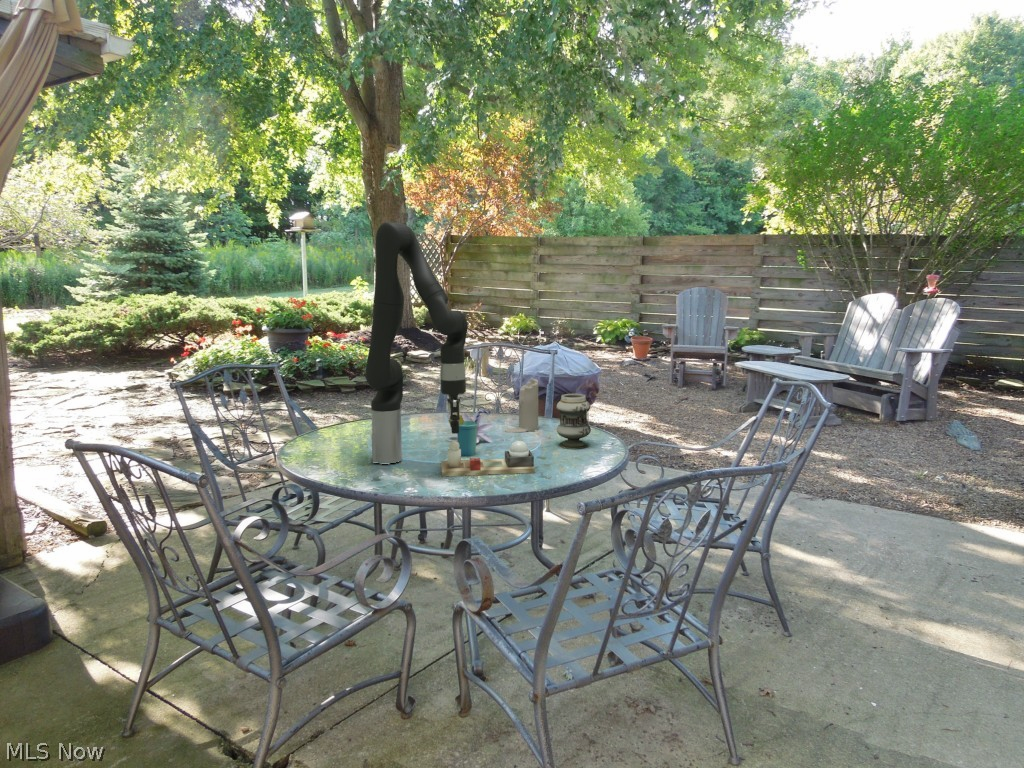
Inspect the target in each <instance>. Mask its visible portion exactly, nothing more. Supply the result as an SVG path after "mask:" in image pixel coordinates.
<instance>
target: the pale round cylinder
mask: <svg viewBox="0 0 1024 768" xmlns="http://www.w3.org/2000/svg"><path fill="white" fill-rule="evenodd" d="M529 450H530V449H529V446H528V445H527V443H526V442H524V441H522V440H516V441H513V442H512V444H511V445H510V447H509V450H508V451H509V456H510V457H529Z"/></svg>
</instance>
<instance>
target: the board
mask: <svg viewBox="0 0 1024 768" xmlns="http://www.w3.org/2000/svg"><path fill="white" fill-rule="evenodd" d="M528 450H529V457H510V456H509V450H505V451H504V458H490V459H488V458H486V459H481V458H480V457H470V458H469V459H464V460H463V459H461V466H460V467H449V466H448V460H440V469H441V477H442V476H449V477H468V475H471V476H489V475H488V474H499V475H517V474H516V473H524V474H535V473H536V468H535V461H534V460H535V457H534V454H533V453H532V451H531V450H530V449H528ZM465 475H467V476H465Z"/></svg>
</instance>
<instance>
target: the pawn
mask: <svg viewBox="0 0 1024 768" xmlns="http://www.w3.org/2000/svg"><path fill="white" fill-rule="evenodd" d="M448 444H449V445H448V449H447V461H448V466H449V467H460V466H461V460H462V456H461V449H459V443H458V440H451V441H450V442H449V443H448Z"/></svg>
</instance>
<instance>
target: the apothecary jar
mask: <svg viewBox="0 0 1024 768" xmlns="http://www.w3.org/2000/svg"><path fill="white" fill-rule="evenodd" d="M560 397H561V398H560V401H558V402H557V404H556V410H557V411H559V424H558V425H557V426H556V432H557V433H556V434H558V436H560V437H562V438H564V439H565V440H563V441H561V442H560V443H559V447H561V446H562V447H561V448H563V447H565V448H564V449H568V448H574V449H573V450H578V449H577V448H580V449H585V448H586V446H587V447H588V443H587V442H585V441H583V440H580V439H583V438H586V437H588V436H589V435H590V433H591V431H592V428H591V426H590V425H589V424H588V412H589V411H591V410H590V409H591V403H590V402H589V401H587V397H586V394H581V393H566V394H561V396H560ZM584 447H585V448H584ZM575 448H576V449H575Z"/></svg>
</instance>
